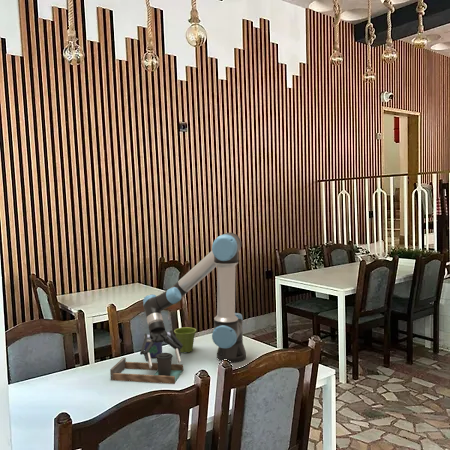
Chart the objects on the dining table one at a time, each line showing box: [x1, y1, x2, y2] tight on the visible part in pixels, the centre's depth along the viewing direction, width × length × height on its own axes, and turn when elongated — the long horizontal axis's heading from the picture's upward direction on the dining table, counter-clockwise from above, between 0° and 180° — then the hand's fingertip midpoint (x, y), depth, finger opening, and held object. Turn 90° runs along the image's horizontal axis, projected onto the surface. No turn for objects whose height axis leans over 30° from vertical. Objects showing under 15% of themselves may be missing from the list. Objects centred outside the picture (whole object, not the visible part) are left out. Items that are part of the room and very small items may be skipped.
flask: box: [144, 338, 163, 359], centre depth 256 cm, size 9×3×11 cm, turn 88°
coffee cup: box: [155, 352, 174, 376], centre depth 231 cm, size 8×8×10 cm
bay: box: [109, 357, 184, 385], centre depth 232 cm, size 30×16×5 cm, turn 80°
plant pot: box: [173, 326, 197, 353], centre depth 266 cm, size 12×12×11 cm
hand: (165, 364), depth 228 cm, fingers open, 13 cm apart
